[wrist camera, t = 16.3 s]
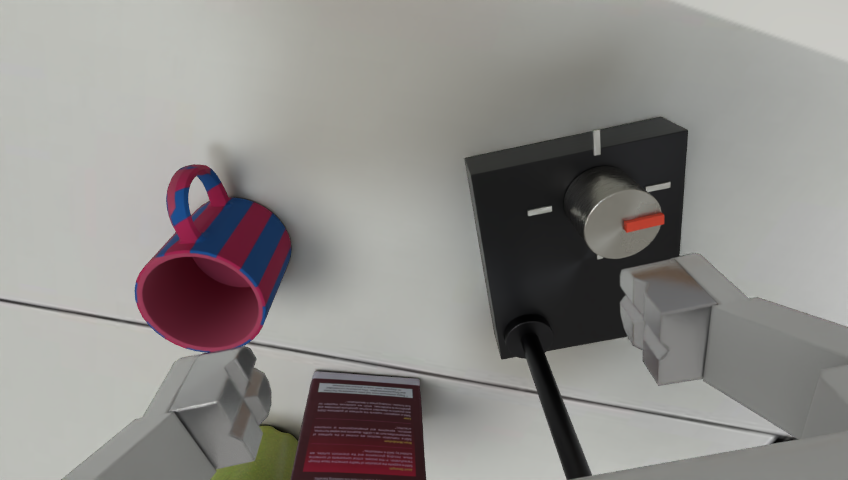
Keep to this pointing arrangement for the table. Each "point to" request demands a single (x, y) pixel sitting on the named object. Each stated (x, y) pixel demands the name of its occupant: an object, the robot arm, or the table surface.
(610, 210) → the dimmer knob
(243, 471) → the plant pot
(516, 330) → the desk lamp
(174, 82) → the table surface
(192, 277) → the mug
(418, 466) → the supplement box
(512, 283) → the lamp base
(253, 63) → the table surface
